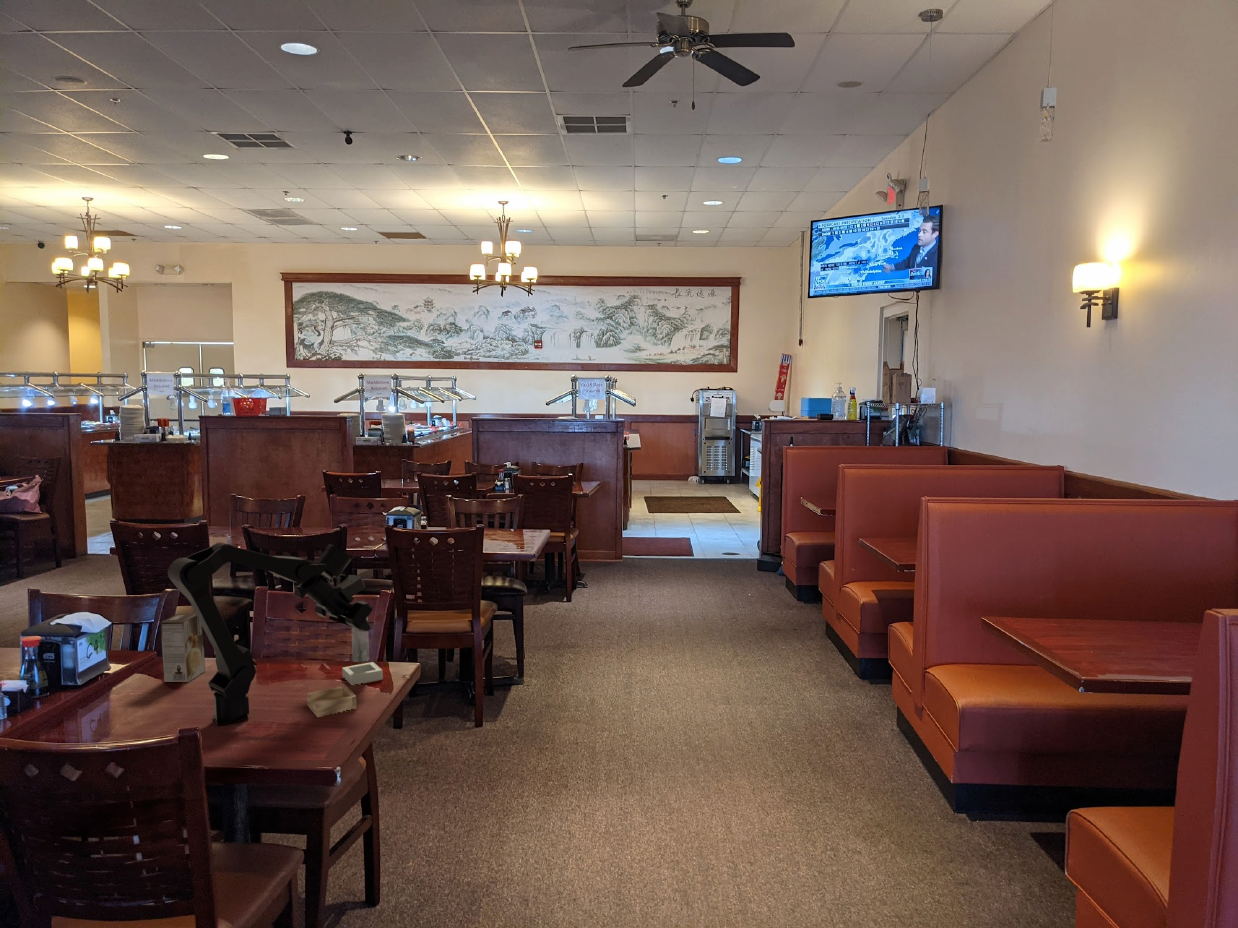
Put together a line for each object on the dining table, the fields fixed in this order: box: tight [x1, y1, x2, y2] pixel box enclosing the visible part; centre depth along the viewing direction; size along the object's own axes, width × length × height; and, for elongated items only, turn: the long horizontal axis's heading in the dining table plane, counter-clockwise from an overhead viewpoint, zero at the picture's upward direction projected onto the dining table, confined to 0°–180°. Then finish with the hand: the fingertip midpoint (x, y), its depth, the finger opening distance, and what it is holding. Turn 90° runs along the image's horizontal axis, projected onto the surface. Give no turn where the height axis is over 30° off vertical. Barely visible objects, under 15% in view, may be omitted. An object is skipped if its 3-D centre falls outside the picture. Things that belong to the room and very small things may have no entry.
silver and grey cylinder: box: [351, 600, 370, 663], centre depth 217 cm, size 4×4×15 cm
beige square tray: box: [306, 685, 358, 718], centre depth 199 cm, size 9×9×3 cm
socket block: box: [341, 661, 384, 686], centre depth 219 cm, size 8×8×2 cm
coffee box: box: [160, 612, 206, 683], centre depth 221 cm, size 9×6×16 cm
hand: (364, 627), depth 218 cm, fingers closed on silver and grey cylinder, 4 cm apart
